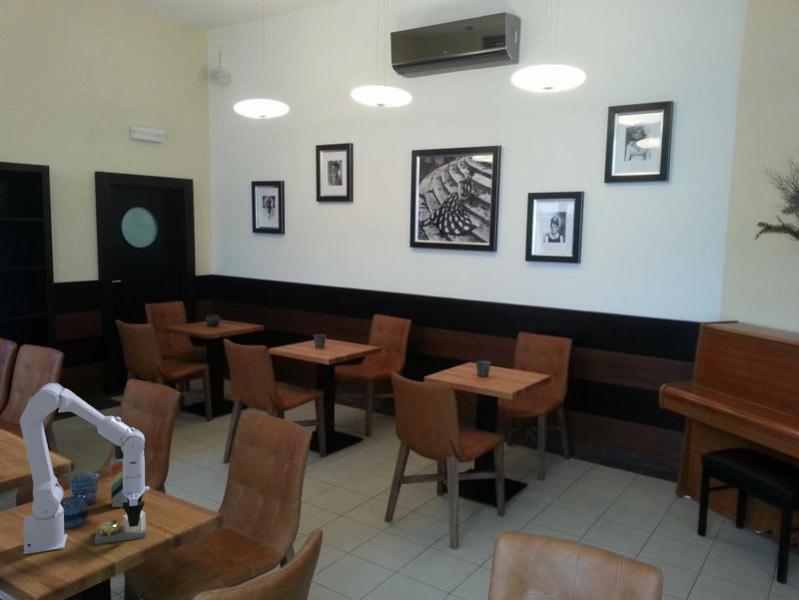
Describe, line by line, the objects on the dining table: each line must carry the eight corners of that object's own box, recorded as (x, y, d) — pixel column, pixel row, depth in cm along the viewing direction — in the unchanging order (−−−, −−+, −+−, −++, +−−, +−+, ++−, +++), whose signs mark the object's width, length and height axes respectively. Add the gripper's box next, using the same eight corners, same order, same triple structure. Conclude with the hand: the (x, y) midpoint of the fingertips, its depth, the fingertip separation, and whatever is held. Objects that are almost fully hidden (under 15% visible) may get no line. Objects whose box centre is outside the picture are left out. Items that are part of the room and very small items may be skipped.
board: (94, 544, 165) (94, 527, 165) (97, 531, 173) (97, 515, 172) (146, 537, 170) (145, 520, 170) (146, 525, 178) (146, 508, 177)
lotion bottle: (112, 501, 193) (112, 440, 192) (132, 499, 195) (131, 439, 193) (110, 508, 188) (109, 446, 186) (129, 507, 190) (129, 445, 188)
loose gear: (123, 533, 169) (123, 520, 168) (124, 525, 174) (123, 511, 173) (145, 530, 171) (145, 517, 170) (145, 522, 176) (145, 509, 176)
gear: (97, 537, 166) (97, 526, 166) (99, 528, 171) (99, 517, 171) (120, 534, 168) (120, 523, 168) (121, 525, 174) (121, 514, 173)
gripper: (148, 481, 166) (149, 529, 167) (149, 463, 179) (149, 508, 180) (120, 484, 163) (121, 533, 164) (123, 466, 176) (123, 511, 178)
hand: (134, 520), depth 172 cm, fingers open, 7 cm apart
